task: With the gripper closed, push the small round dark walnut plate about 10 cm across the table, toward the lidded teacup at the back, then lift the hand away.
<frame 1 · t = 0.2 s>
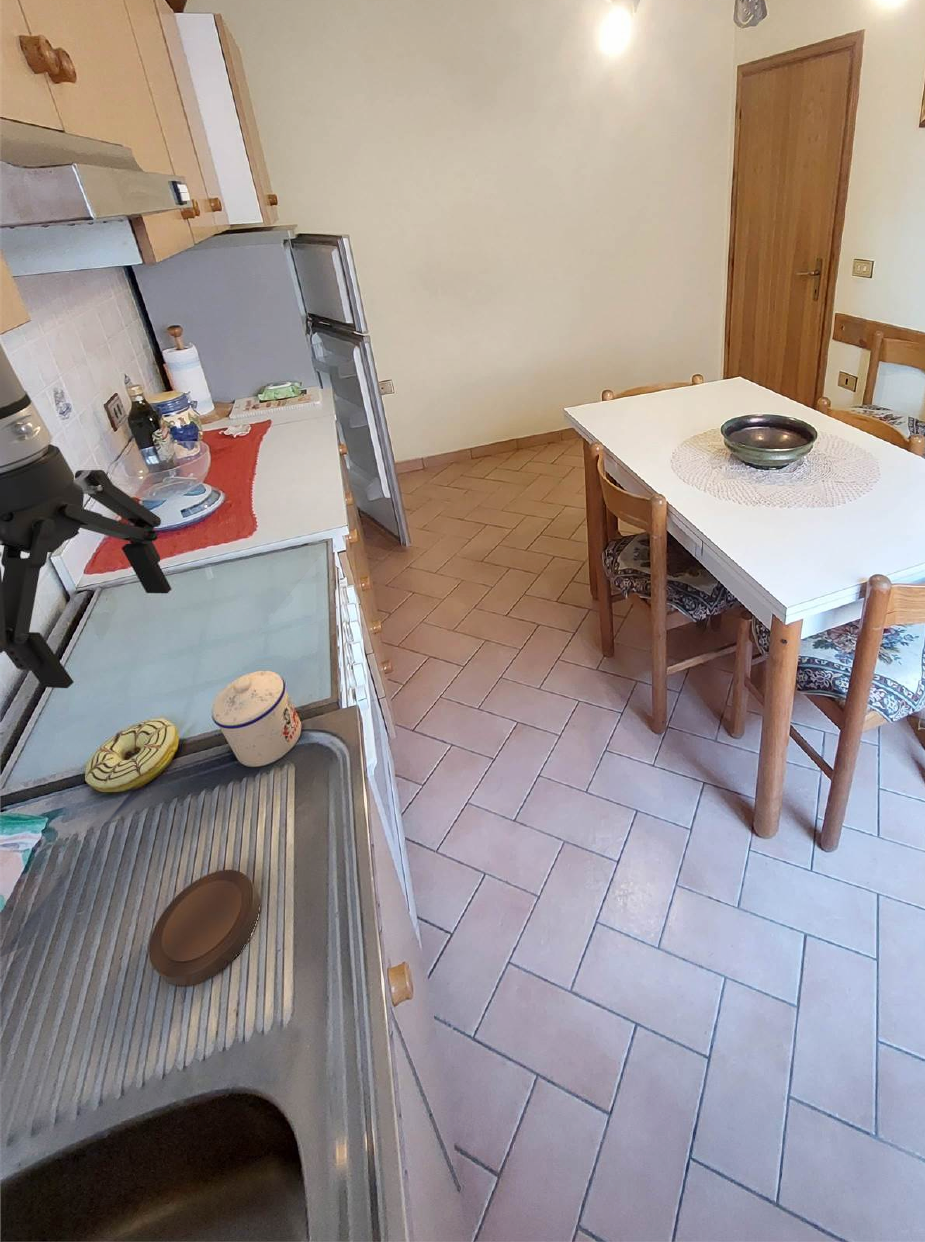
hand: (113, 634, 66), 29 cm above the worktop, tool pointing down, fingers open, 13 cm apart
decorated donut: (140, 765, 86), on the worktop
plate: (210, 930, 66), on the worktop
teacup with lid: (269, 733, 88), on the worktop
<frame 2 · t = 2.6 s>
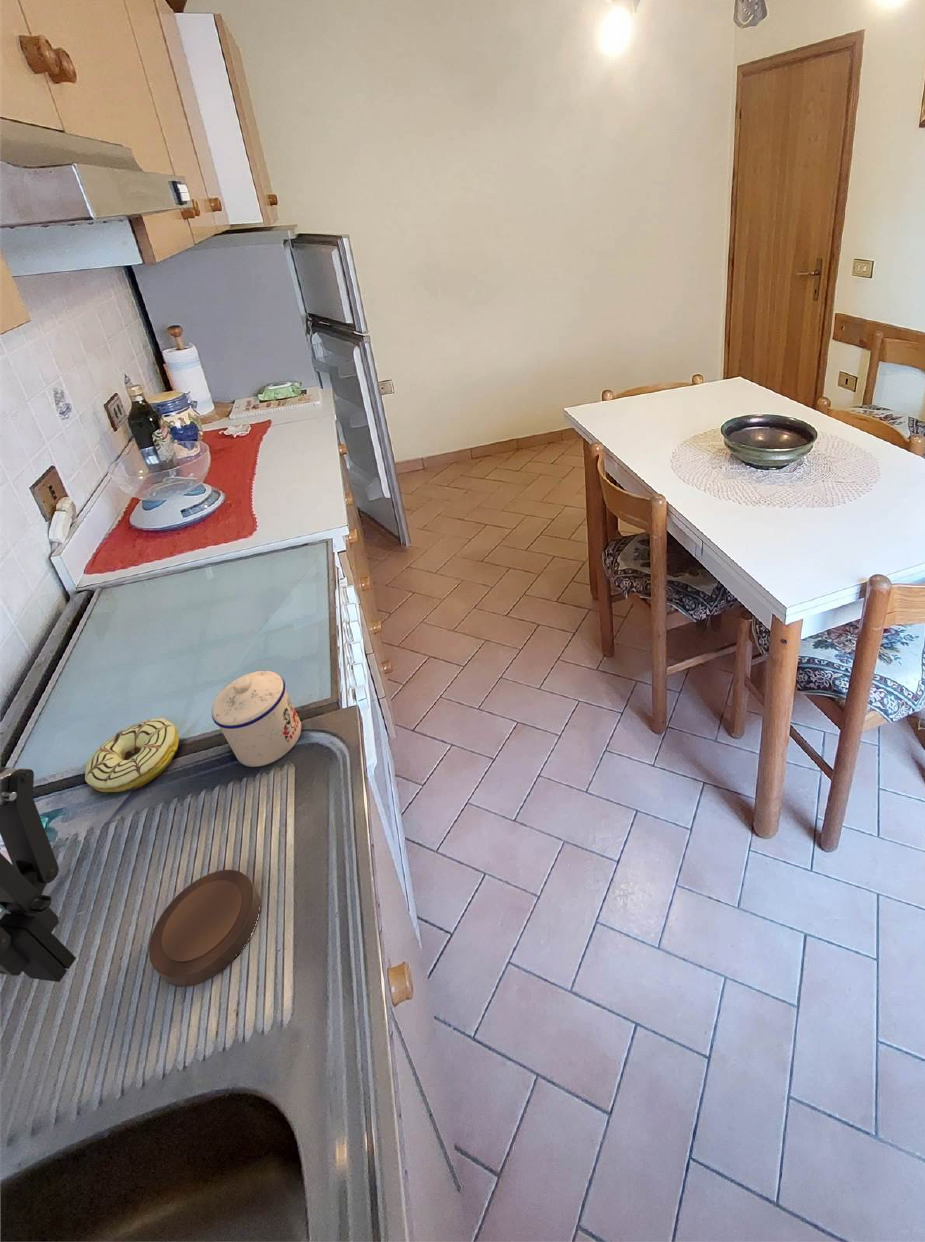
hand: (53, 967, 50), 16 cm above the worktop, tool pointing down, fingers closed
nothing on the worktop moved.
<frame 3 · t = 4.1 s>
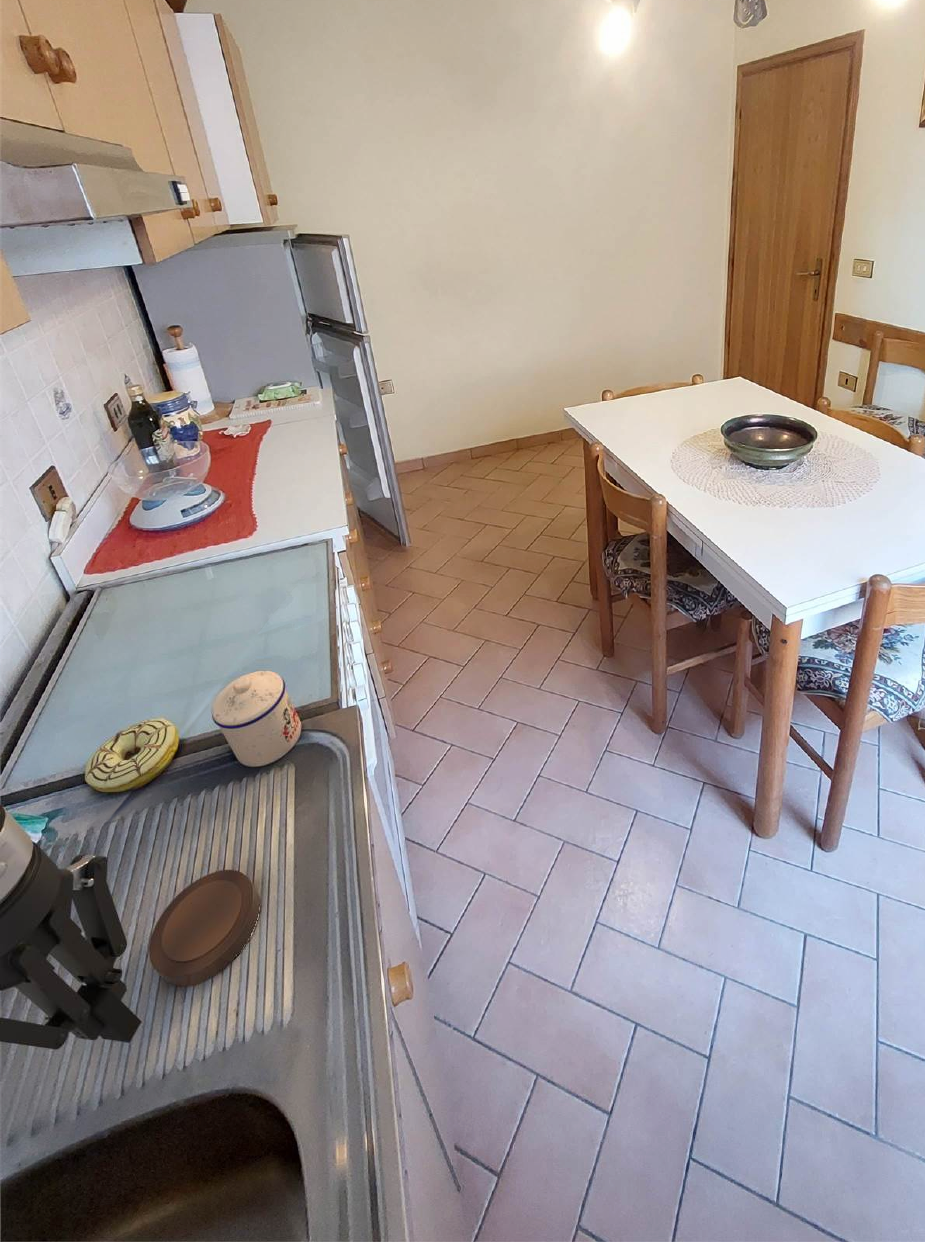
hand: (122, 1030, 56), 4 cm above the worktop, tool pointing down, fingers closed
nothing on the worktop moved.
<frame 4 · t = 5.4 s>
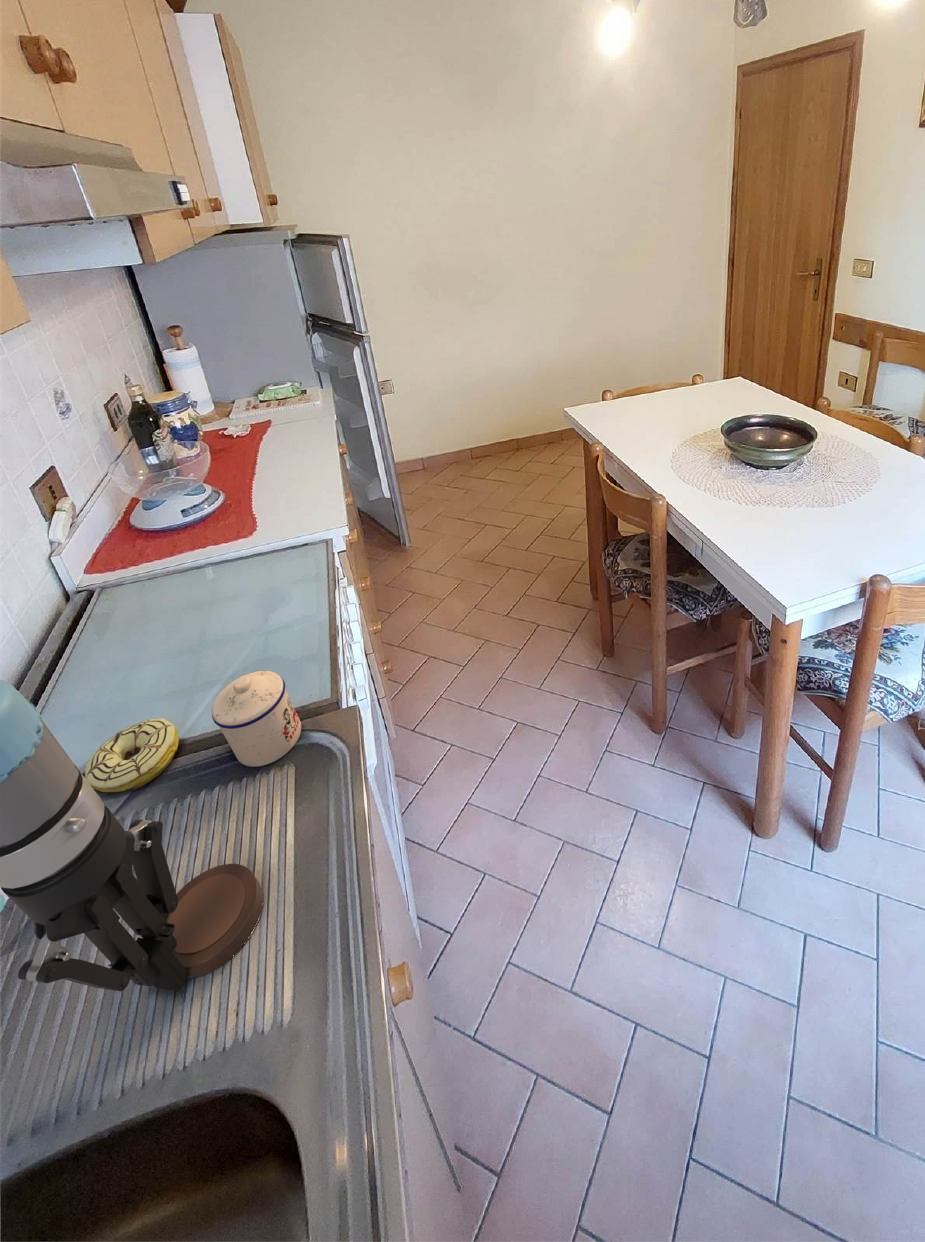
hand: (172, 980, 61), 1 cm above the worktop, tool pointing down, fingers closed
plate: (214, 923, 67), on the worktop, touching gripper
everything else where it was.
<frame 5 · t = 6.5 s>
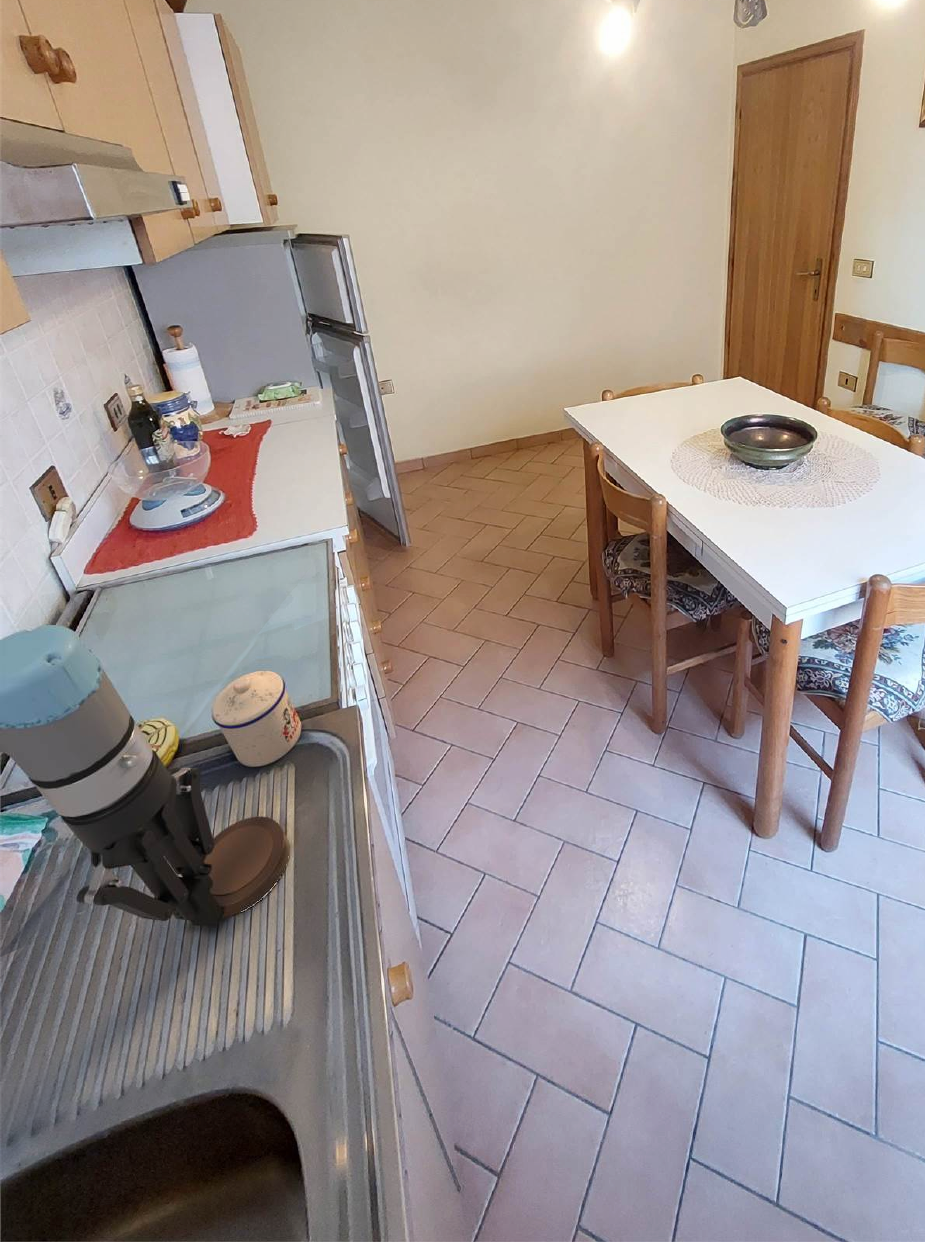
hand: (208, 918, 66), 2 cm above the worktop, tool pointing down, fingers closed
plate: (244, 869, 72), on the worktop, touching gripper
everything else where it was.
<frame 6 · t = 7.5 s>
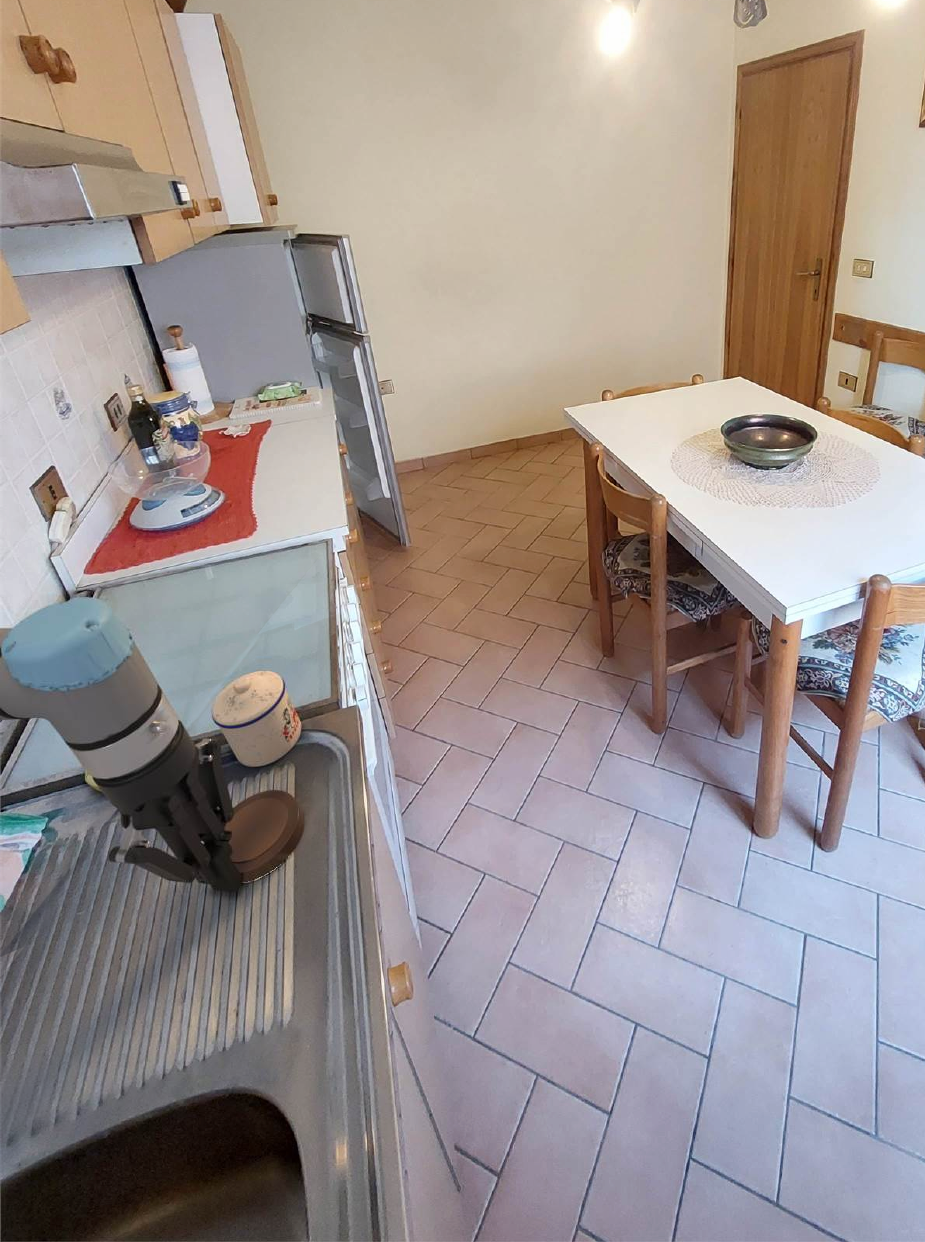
hand: (228, 884, 69), 1 cm above the worktop, tool pointing down, fingers closed
plate: (260, 840, 75), on the worktop, touching gripper
everything else where it was.
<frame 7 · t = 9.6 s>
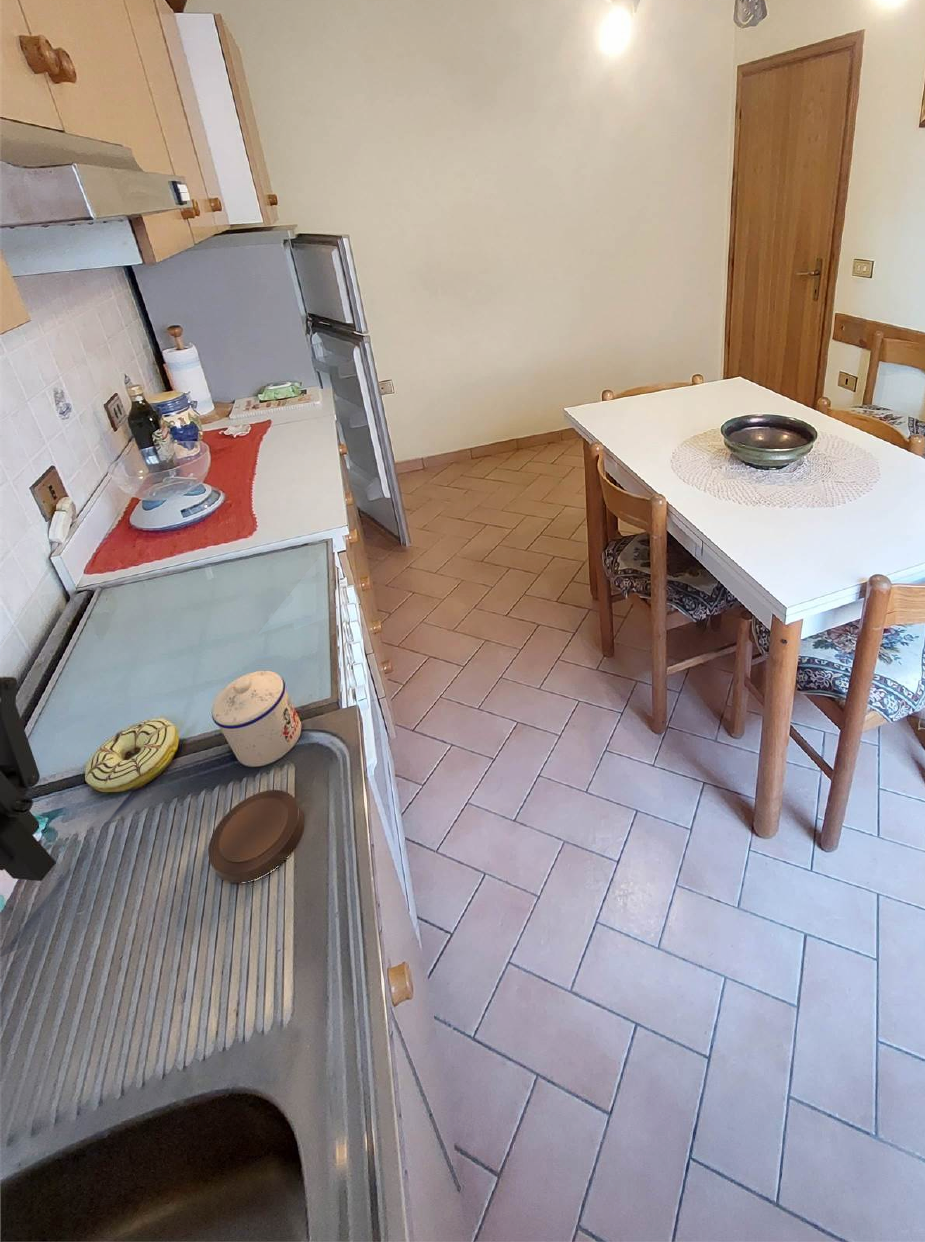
hand: (34, 870, 52), 21 cm above the worktop, tool pointing down, fingers closed
plate: (260, 840, 75), on the worktop
everything else where it was.
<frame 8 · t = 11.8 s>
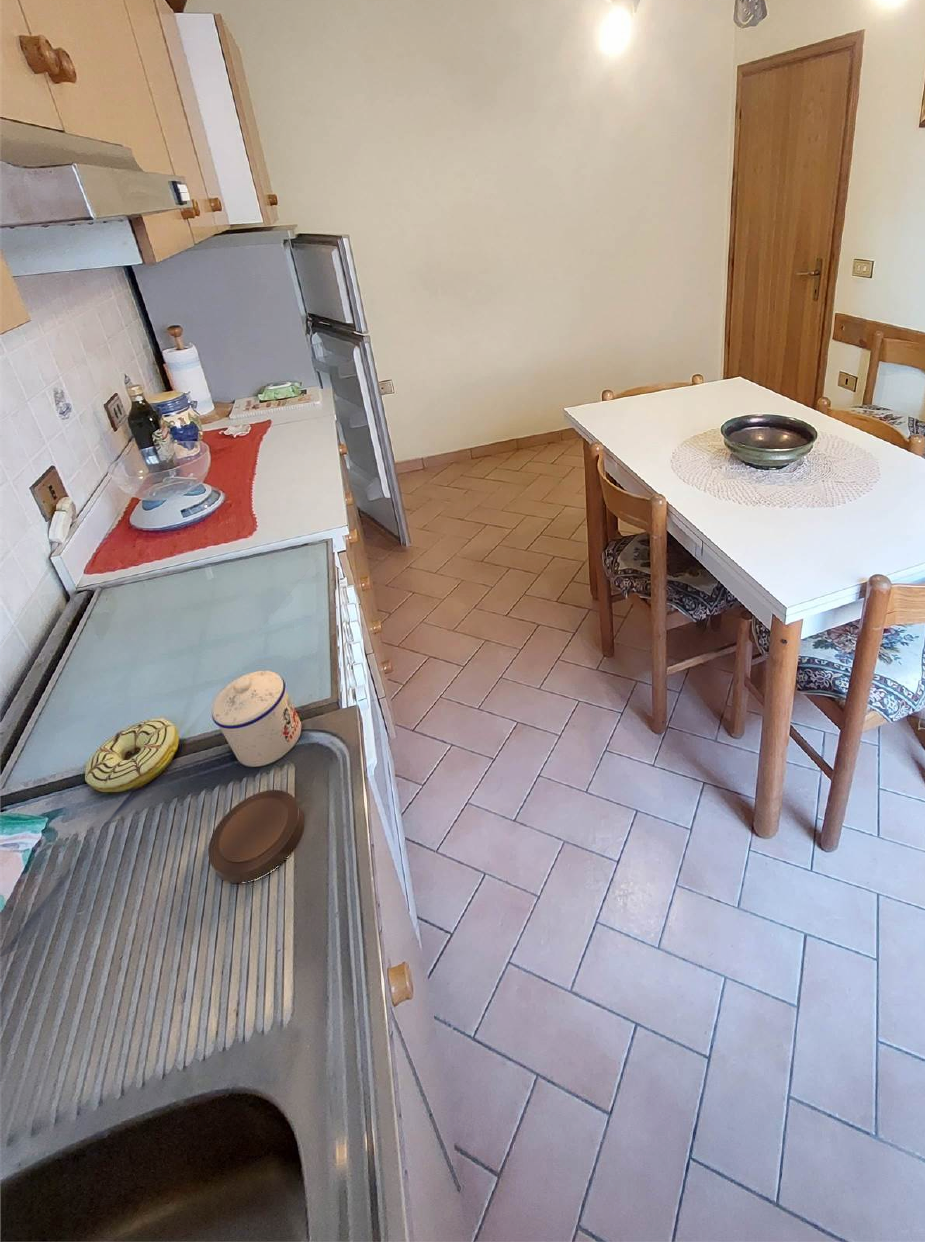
nothing on the worktop moved.
at the end: plate inside the target area (0.2 cm from its centre), on the worktop; plate 16.5 cm from the teacup with lid (horizontally); plate moved 9.5 cm from its start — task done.
